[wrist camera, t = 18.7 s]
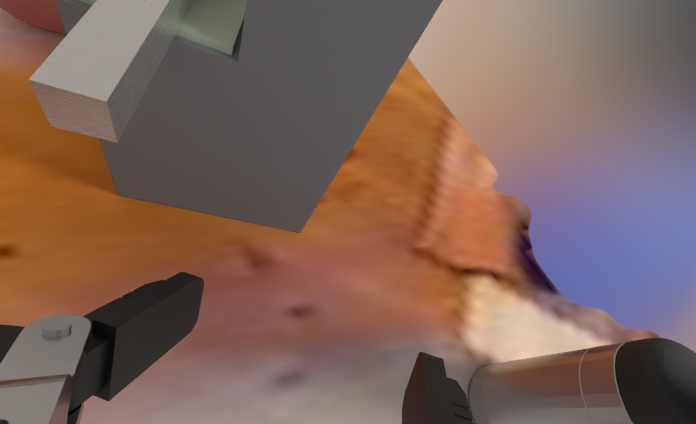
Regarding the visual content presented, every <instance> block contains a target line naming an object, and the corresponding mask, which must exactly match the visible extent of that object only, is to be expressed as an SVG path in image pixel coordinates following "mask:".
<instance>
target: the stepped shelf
mask: <svg viewBox="0 0 696 424" xmlns="http://www.w3.org/2000/svg"><path fill="white" fill-rule="evenodd" d="M55 1H56V5H57V8H58V11H59V14H60V17H61V20H62V23H63V26H64V29H65V32H66V35H67V34H68V33H69V32H70V31H71V30H72V29H73V28H74V26H75V25H76V24H77V23H78V22H79V21H80V19H81V18H82V17H83V16H84V15H85V14H86V12H87V11H88V10H89V9H90V8H91V7H92V6H93V4H94V3H95V2H96V1H97V0H55ZM441 2H442V0H194V2H193V4H192V6H191V8H190V9H189V11H188V13H187V15H186V17H185V19H184V21H183V22H182V24H181V26H180V28H179V30H178V32H177V34H176V35H175V37H174V39H173V41H172V43H171V45H170V46H169V48H168V50H167V52H166V54H165V56H164V58H163V59H162V61H161V63H160V65H159V67H158V69H157V70H156V72H155V74H154V76H153V78H152V80H151V82H150V83H149V85H148V87H147V89H146V91H145V93H144V95H143V96H142V98H141V100H140V102H139V104H138V106H137V107H136V109H135V111H134V113H133V115H132V117H131V119H130V120H129V122H128V124H127V126H126V128H125V130H124V131H123V133H122V135H121V137H120V139H119V141H118V143H116V142H112V141H108V140H104V139H100V141H101V144H102V147H103V150H104V153H105V156H106V159H107V162H108V165H109V168H110V172H111V175H112V178H113V181H114V184H115V187H116V190H117V193H118V195H119V196H124V197H129V198H133V199H138V200H143V201H148V202H153V203H158V204H162V205H167V206H172V207H177V208H182V209H187V210H192V211H196V212H201V213H206V214H211V215H216V216H221V217H225V218H230V219H235V220H240V221H245V222H250V223H254V224H259V225H264V226H269V227H274V228H279V229H283V230H288V231H293V232H298V233H300V232H301V230H302V229H303V227H304V225H305V224H306V222H307V221H308V219H309V217H310V216H311V214H312V212H313V211H314V209H315V208H316V206H317V204H318V203H319V201H320V199H321V198H322V196H323V195H324V193H325V191H326V190H327V188H328V186H329V185H330V183H331V182H332V180H333V178H334V177H335V175H336V173H337V172H338V170H339V168H340V167H341V165H342V164H343V162H344V160H345V159H346V157H347V155H348V154H349V152H350V151H351V149H352V147H353V146H354V144H355V142H356V141H357V139H358V138H359V136H360V134H361V133H362V131H363V129H364V128H365V126H366V124H367V123H368V121H369V120H370V118H371V116H372V115H373V113H374V111H375V110H376V108H377V107H378V105H379V103H380V102H381V100H382V98H383V97H384V95H385V94H386V92H387V90H388V89H389V87H390V85H391V84H392V82H393V81H394V79H395V77H396V76H397V74H398V72H399V71H400V69H401V67H402V66H403V64H404V63H405V61H406V59H407V58H408V56H409V54H410V53H411V51H412V50H413V48H414V46H415V45H416V43H417V41H418V40H419V38H420V37H421V35H422V33H423V32H424V30H425V28H426V27H427V25H428V23H429V22H430V20H431V18H432V17H433V15H434V14H435V12H436V10H437V9H438V7H439V6H440V4H441Z"/></svg>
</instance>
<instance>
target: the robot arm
mask: <svg viewBox="0 0 696 424" xmlns="http://www.w3.org/2000/svg"><path fill="white" fill-rule="evenodd" d="M203 286H204V281H203V279H202V278H200V277H197V276H194V275H191V274H188V273H185V272H180V273H178V274H176V275H174V276H172V277H171V278H169V279H167V280H165V281H164V280H161V281H157V282H152V283H148V284H145V285H143V286H141V287H140V288H138V289H136V290H134V291H133V292H130V293H128V294H126V295H124V296H123V297H122V298H118V299H116V300H114V301H112V302H110V303H108V304H106V305H104V306H102V307H101V308H99V309H97V310H95V311H93V312H91V313H89V314H87V315H85V316H83V317H82V316H79V315H72V314H63V315H54V316H49V317H45V318H42V319H39V320H37V321H34V322H32V323H31V324H29V325H27V326H26V327H20V326H10V325H0V424H79V423H80V420H81V416H82V413H83V408H84V401H86V400H87V399H88V398H90V397H91V396H92V395H94V396H97V397H99V398H102V399H104V400H107V401H110V400H111V399H112V398H113V397H114V396H115V395H117V394H118V393H119V392H120V391H121V390H123V389H124V388H125V387H126V386H127V385H128V384H130V383H131V382H132V381H133V380H134V379H136V378H137V377H138V376H139V375H140V374H141V373H143V372H144V371H145V370H146V369H147V368H149V367H150V366H151V365H152V364H153V363H155V362H156V361H157V360H158V359H159V358H160V357H162V356H163V355H164V354H165V353H166V352H168V351H169V350H170V349H171V348H172V347H173V346H175V345H176V344H177V343H178V342H179V341H181V340H182V339H183V338H184V337H185V336H186V335H188V334H189V333H190V332H191V330H192V329H193V327H194V326H195V324H196V322H197V319H198V315H199V309H200V304H201V298H202V292H203ZM469 400H470V408H471V412H472V416H473V418H474V421H475V423H476V424H696V353H695V352H693V351H692V350H690V349H689V348H687V347H685V346H684V345H682V344H680V343H677V342H675V341H672V340H668V339H663V338H649V339H642V340H636V341H630V342H624V343H617V344H611V345H605V346H599V347H594V348H588V349H582V350H576V351H570V352H564V353H558V354H552V355H545V356H539V357H533V358H527V359H521V360H515V361H508V362H502V363H496V364H490V365H485V366H483V367H481V368H479V369H478V370H477V371H476V372H475V374H474V376H473V378H472V380H471V384H470V390H469ZM402 424H473V423H472V418H471V414H470V411H469V406H468V402H467V398H466V394H465V393H464V391H463V390H462V388H461V387H460V385H459V384H458V383H457V381H456V380H454V379H451V378H448V377H447V376H446V371H445V366H444V361H443V359H441V358H438V357H435V356H432V355H429V354H426V353H423V352H420V353H419V355H418V357H417V360H416V363H415V365H414V368H413V371H412V374H411V377H410V380H409V383H408V385H407V388H406V391H405V395H404V400H403V407H402Z"/></svg>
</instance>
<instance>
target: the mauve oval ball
mask: <svg viewBox="0 0 696 424" xmlns="http://www.w3.org/2000/svg"><path fill="white" fill-rule="evenodd" d="M0 7H1V8H2V9H4V10H5V11H7V12H8V13H10V14H12V15H13V16H15V17H17V18H19V19H21V20H23V21H25V22H27V23H29V24H32V25H34V26H37V27H40V28H43V29H46V30H50V31H54V32H60V33H66V32H65V29H64V26H63V23H62V20H61V17H60V14H59V11H58V8H57V5H56V1H55V0H0Z"/></svg>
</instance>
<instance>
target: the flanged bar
mask: <svg viewBox="0 0 696 424" xmlns="http://www.w3.org/2000/svg"><path fill="white" fill-rule="evenodd" d="M193 2H194V0H97V1H96V2H95V3H94V4H93V6H92V7H91V8H90V9H89V10H88V11H87V12H86V14H85V15H84V16H83V17H82V18H81V19H80V21H79V22H78V23H77V24H76V25H75V26H74V28H73V29H72V30H71V31H70V32H69V33H68V34H67V36H66V37H65V38H64V39H63V40H62V41H61V43H60V44H59V45H58V46H57V47H56V48H55V50H54V51H53V52H52V53H51V54H50V55H49V56H48V58H47V59H46V60H45V61H44V62H43V63H42V65H41V66H40V67H39V68H38V69H37V70H36V72H35V73H34V74H33V75H32V76H31V77H30V79H29V82H30V84H31V86H32V88H33V90H34V92H35V94H36V96H37V98H38V100H39V102H40V104H41V107H42V109H43V111H44V113H45V115H46V117H47V119H48V121H49V123H50V125H51V126H52V127H56V128H60V129H64V130H68V131H72V132H76V133H80V134H84V135H88V136H92V137H96V138H100V139H104V140H108V141H112V142H116V143H118V141H119V139H120V137H121V135H122V133H123V131H124V130H125V128H126V126H127V124H128V122H129V120H130V119H131V117H132V115H133V113H134V111H135V109H136V107H137V106H138V104H139V102H140V100H141V98H142V96H143V95H144V93H145V91H146V89H147V87H148V85H149V83H150V82H151V80H152V78H153V76H154V74H155V72H156V70H157V69H158V67H159V65H160V63H161V61H162V59H163V58H164V56H165V54H166V52H167V50H168V48H169V46H170V45H171V43H172V41H173V39H174V37H175V35H176V34H177V32H178V30H179V28H180V26H181V24H182V22H183V21H184V19H185V17H186V15H187V13H188V11H189V9H190V8H191V6H192V4H193Z"/></svg>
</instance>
